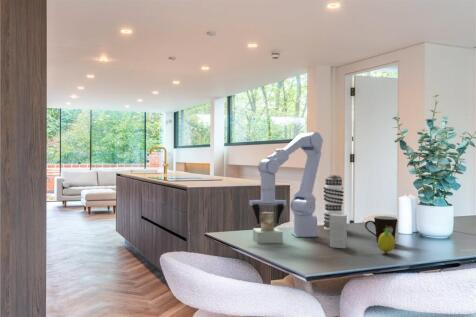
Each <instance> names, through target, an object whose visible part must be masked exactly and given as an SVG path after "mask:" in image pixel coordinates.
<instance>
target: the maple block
mask: <svg viewBox="0 0 476 317" xmlns="http://www.w3.org/2000/svg"><path fill="white" fill-rule="evenodd" d="M260 228H261V231H273V230H274V228H275V212H273V211H272V212H271V211H263V212H261V213H260Z"/></svg>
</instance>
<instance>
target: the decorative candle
mask: <svg viewBox="0 0 476 317" xmlns="http://www.w3.org/2000/svg"><path fill="white" fill-rule="evenodd" d="M324 180H325V185H324V186H323V189H324V190H323V191H322V192H323V193H324V194H323V197H324V198H323V200H324V202H323V204H324V214H323V215H324V216H323V219H324V220H323V223H324V224H323V226H324V227H323V230H327V231H330V215H331V214H341V215H343V210H342V209H343V206H342V205H344V204H343V201H344V199H343V197H344V191H343V189H344V187H343V178H342V177H341V175H338V174H337V175H336V174H334V175H333V174H328V175H327V176H326V177H325V178H324Z"/></svg>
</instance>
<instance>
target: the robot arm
mask: <svg viewBox="0 0 476 317" xmlns="http://www.w3.org/2000/svg"><path fill="white" fill-rule="evenodd" d="M323 143H324V139H323V137H322V135H321V134H320V132H318V131H314V132H300V133H298V135H297V134H296V135H295V137H294V138H293V139H292V141H290V142H289V143H288V144H287V145H286V146H285V147H283V148H276V149H275V151H274V152H273V153H272V154H270V155H268V156H267V158H265V159H264V158H263V159H262V160H260V162H259V164H258V166H257V170H258V172H259V176H260V199H250V200H249V206H251V207H252V210H253V212H254V216H255V220H256V224H257V225H259V224H260V223H261V219H260V211H261V210H260V209H261V207H260V206H274V207H275V224H279V221H280V218H281V215H282V212H283V211H284V209H285V206H287V200H286V199H276V173H278V171H279V170H280V169H279V168H280V167H281V166H282V165H283V164H284V163H286V161H288V160H289V156H290V155H291V154H294V153H295V152H296V151H297V150H298V149H301V150H302V151H303V152H304V153H305V154H306V156H307V157H306V161H305V164H304V170H303V173H302V177H301V183H300V186H299V190H298V191H297V192H296V193H295V194H294V195H293V198H292V200H291V201H290V204H289V205H290V209H291V211H292V213H293V224H294V225H293V232H291V235H293V236H294V237H296V238H306V237H307V238H308V237H309V238H311V237H312V238H314V237H316V238H317V237H319V236H318V218H317V215H316V214H314V213H315V210H316V197H315V196H314V194H313V190H314V187H315V182H316V178H317V174H318V169H319V166H320V165H319V164H320V161H321V156H322V146H323Z"/></svg>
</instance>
